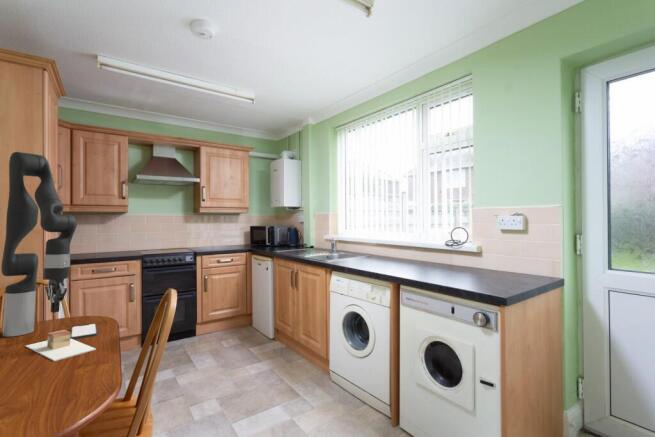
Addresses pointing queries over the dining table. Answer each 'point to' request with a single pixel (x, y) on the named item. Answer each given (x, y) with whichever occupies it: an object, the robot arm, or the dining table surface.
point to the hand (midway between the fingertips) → (54, 312)
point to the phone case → (83, 331)
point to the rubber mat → (60, 350)
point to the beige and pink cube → (58, 339)
